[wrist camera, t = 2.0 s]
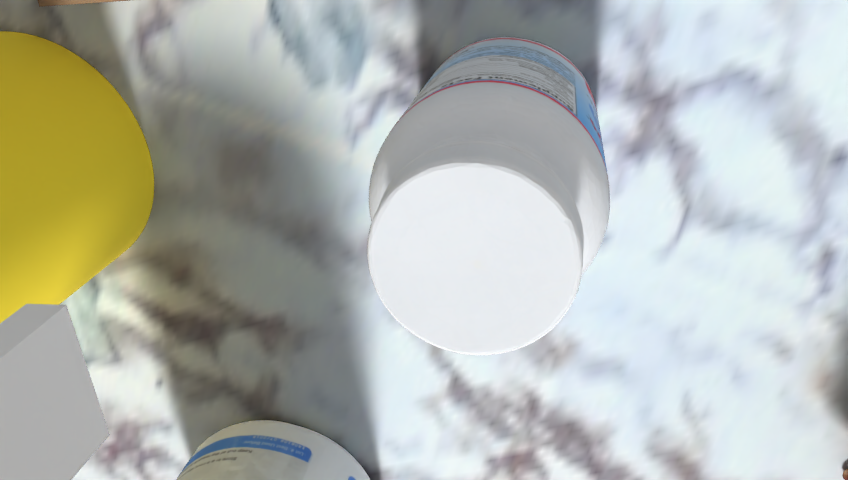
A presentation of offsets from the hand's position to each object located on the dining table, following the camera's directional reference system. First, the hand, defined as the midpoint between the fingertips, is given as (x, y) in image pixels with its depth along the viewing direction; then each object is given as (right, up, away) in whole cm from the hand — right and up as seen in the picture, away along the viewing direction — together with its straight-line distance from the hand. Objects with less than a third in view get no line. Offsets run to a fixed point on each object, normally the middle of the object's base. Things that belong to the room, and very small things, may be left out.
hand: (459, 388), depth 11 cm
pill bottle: (+2, +7, +14) cm, 16 cm away
